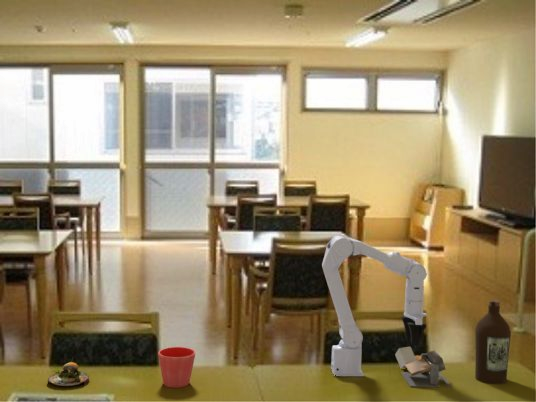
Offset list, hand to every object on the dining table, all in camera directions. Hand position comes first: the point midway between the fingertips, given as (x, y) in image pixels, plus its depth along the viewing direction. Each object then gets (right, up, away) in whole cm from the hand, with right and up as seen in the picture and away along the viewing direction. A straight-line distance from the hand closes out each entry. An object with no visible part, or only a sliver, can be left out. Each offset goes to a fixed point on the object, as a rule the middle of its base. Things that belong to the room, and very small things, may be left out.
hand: (412, 341), depth 223 cm
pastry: (+4, -10, +9) cm, 14 cm away
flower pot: (-74, -10, -14) cm, 76 cm away
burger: (-106, -10, -15) cm, 107 cm away
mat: (+1, -11, -6) cm, 12 cm away
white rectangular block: (-1, -7, +6) cm, 9 cm away
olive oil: (+24, -11, -3) cm, 27 cm away
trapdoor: (+3, -8, -6) cm, 10 cm away
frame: (+6, -11, -6) cm, 14 cm away
